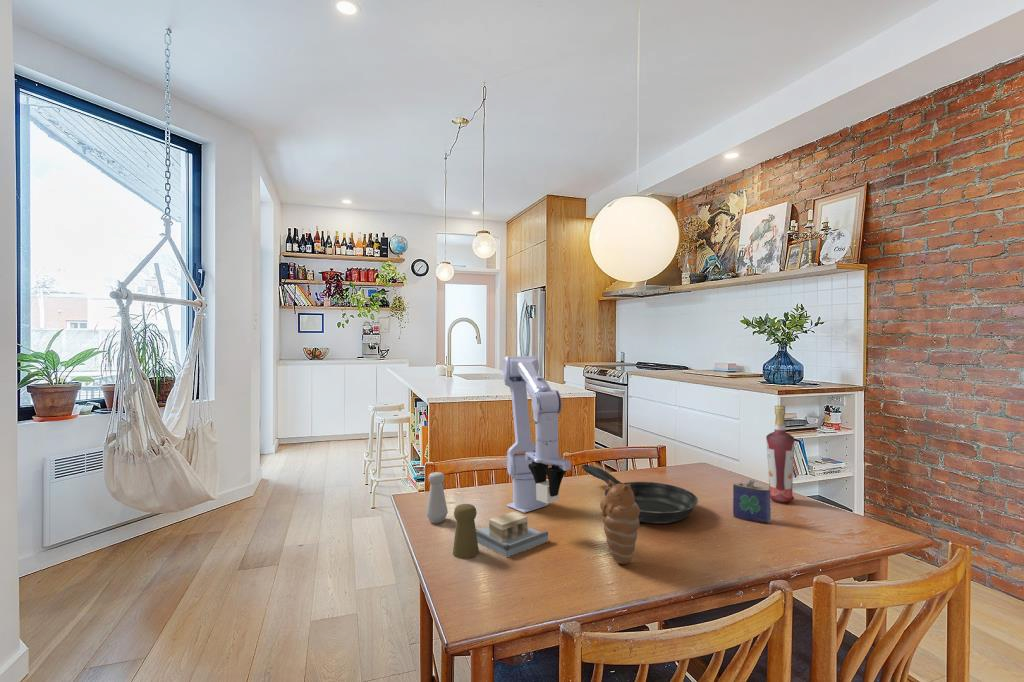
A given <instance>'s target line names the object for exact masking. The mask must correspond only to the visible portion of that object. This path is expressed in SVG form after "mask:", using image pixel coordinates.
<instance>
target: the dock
mask: <svg viewBox="0 0 1024 682" xmlns="http://www.w3.org/2000/svg"><path fill="white" fill-rule="evenodd" d="M476 535H477V542H478V544H480V545H482V546H484V547H486V548H487V549H489V550H491V549H492V550H491V551H493V550H494V552H495V551H496V552H495V553H497V552H498V553H497V554H499V553H500V554H499V555H501V554H502V555H501V556H503V557H505V556H506V557H507V558H509V557H508V556H510V557H512V556H514V555H513V554H515V555H517V554H520V553H522V552H521V551H523V552H525V551H527V550H526V549H528V550H530V549H533V548H535V547H538V546H541V545H543V544H546V543H548V542H549V531H548V530H546V529H545V530H543V531H539V530H536V529H535V528H532V527H529V526H528V533H526V534H523V535H522V534H520V533H518V537H515V538H511V537H509V536H507V540H506V541H504V542H501V541H499V540H497V539H495V538H493V537H491V536H489V526H487V527H484V528H481V529H477V528H476ZM545 542H546V543H545ZM542 543H543V544H542ZM540 544H541V545H540ZM537 545H538V546H537ZM534 546H535V547H534ZM532 547H533V548H532ZM529 548H530V549H529ZM524 550H525V551H524ZM519 552H520V553H519ZM516 553H517V554H516ZM511 555H512V556H511ZM506 557H505V558H506Z"/></svg>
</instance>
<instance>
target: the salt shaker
mask: <svg viewBox="0 0 1024 682" xmlns="http://www.w3.org/2000/svg"><path fill="white" fill-rule="evenodd" d="M427 477H428V482H429V483H430V485H429V490H428V491H429V492H428V498H427V504H426V511H425V512H426V513H425V514H426V517H427V518H428V520H429V522H430V523H431V524H441V523H444V522H445V520H446V517H447V515H448V513H449V511H448V506H447V500H446V496H445V491H444V486H443V482H444V481H445V474H444V473H443V472H440V471H436V472H435V471H433V472H431V473H429V474H428V476H427Z"/></svg>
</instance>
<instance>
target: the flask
mask: <svg viewBox="0 0 1024 682" xmlns="http://www.w3.org/2000/svg"><path fill="white" fill-rule="evenodd" d="M732 488H733V489H732V490H733V492H732V493H733V498H732V499H733V500H732V501H733V502H732V505H733V506H732V511H733V512H732V514H733V517H734V518H735V519H739V520H742V521H747V522H751V523H758V524H763V525H764V524H766V525H769V524H771V523H772V522H771V521H772V520H771V511H772V510H771V509H772V508H771V498H770V493H771V491H770V489H769V488H768V487H763V486H762V487H761V486H756V485H755V479H754V480H753V479H747V483H745V482H742V481H740V482H735V483H733V485H732Z"/></svg>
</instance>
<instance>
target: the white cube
mask: <svg viewBox="0 0 1024 682" xmlns="http://www.w3.org/2000/svg"><path fill="white" fill-rule="evenodd" d="M536 500H539V501H542V502H544V503H547V504H548V505H549V504H550V503H554V502H556V501H559V500H560V491H559V492H558V495H556V496H553V497H552V496H550V492H549V481H548V480H546V481H544V482H541V483H537V484H536Z"/></svg>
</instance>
